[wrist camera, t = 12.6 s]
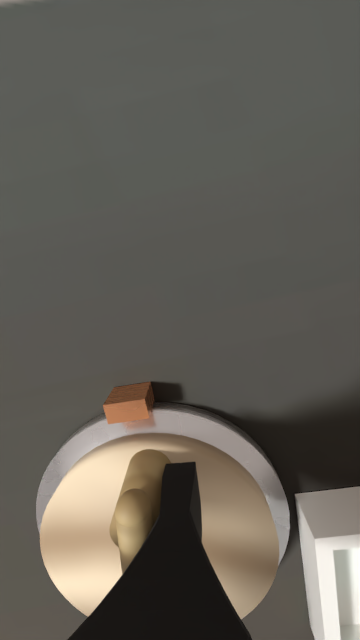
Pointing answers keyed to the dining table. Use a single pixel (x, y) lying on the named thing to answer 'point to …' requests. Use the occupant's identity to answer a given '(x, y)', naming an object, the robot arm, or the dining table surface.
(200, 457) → the crank
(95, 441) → the crank base
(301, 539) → the tray
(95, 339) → the dining table surface
